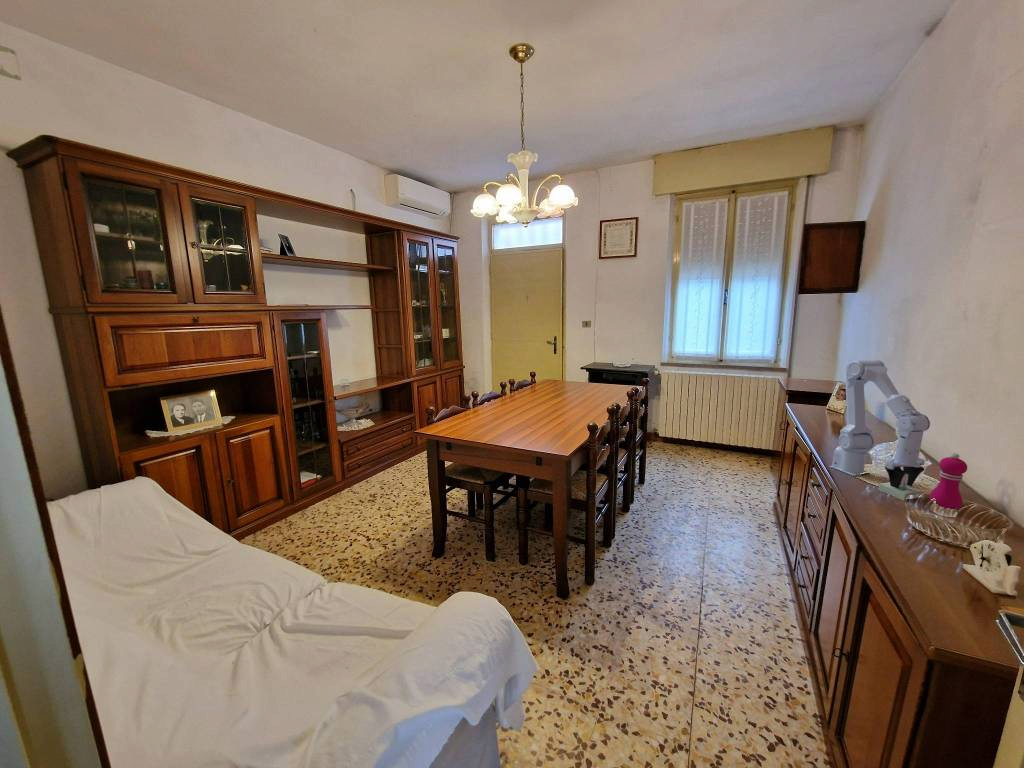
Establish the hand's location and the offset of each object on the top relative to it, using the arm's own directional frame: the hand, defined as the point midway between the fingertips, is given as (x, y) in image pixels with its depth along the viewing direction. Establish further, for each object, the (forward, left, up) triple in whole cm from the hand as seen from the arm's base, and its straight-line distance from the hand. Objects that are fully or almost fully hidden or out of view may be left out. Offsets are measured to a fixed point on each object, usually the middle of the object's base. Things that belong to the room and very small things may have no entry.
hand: (901, 485), depth 143 cm
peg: (0, 0, -3) cm, 3 cm away
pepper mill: (+13, -1, -3) cm, 13 cm away
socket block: (0, 0, -3) cm, 3 cm away
